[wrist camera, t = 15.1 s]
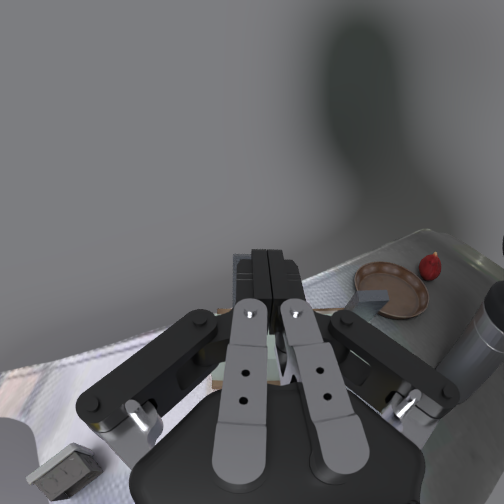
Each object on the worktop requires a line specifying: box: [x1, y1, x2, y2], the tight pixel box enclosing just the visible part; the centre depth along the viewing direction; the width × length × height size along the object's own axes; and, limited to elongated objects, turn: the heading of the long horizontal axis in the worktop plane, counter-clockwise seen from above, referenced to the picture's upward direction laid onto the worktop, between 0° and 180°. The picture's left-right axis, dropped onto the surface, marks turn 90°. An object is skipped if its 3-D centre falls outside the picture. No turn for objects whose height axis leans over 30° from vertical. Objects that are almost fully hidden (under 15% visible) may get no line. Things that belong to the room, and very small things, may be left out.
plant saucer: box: [354, 262, 429, 319], centre depth 56 cm, size 18×18×3 cm
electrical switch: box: [26, 443, 104, 501], centre depth 21 cm, size 9×5×9 cm, turn 145°
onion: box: [419, 252, 441, 280], centre depth 59 cm, size 6×6×8 cm
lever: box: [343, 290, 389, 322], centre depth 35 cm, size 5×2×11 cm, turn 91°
